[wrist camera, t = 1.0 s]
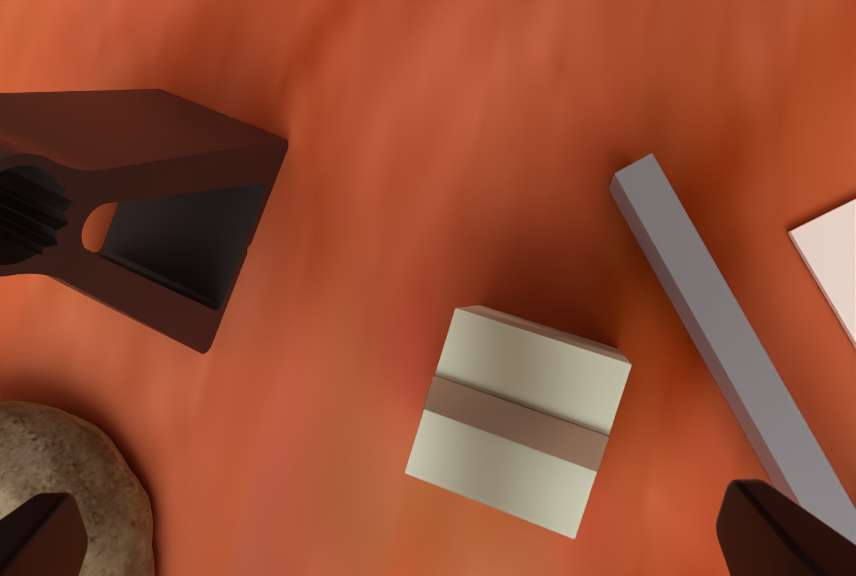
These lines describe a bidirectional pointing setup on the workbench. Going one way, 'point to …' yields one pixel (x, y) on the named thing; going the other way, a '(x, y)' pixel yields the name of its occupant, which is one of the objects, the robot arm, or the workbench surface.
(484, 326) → the cube
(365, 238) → the workbench surface
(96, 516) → the weight
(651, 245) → the l-shaped corner bracket
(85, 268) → the phone stand
